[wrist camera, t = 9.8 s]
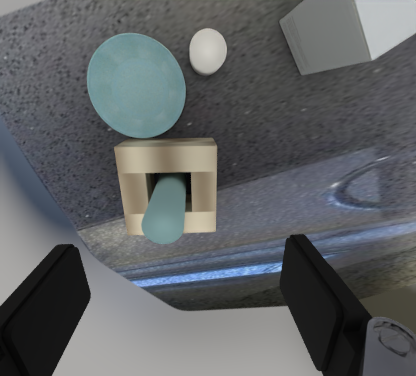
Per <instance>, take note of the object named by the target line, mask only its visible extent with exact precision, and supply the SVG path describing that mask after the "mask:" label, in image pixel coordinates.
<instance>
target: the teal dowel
mask: <svg viewBox="0 0 416 376" xmlns="http://www.w3.org/2000/svg"><path fill="white" fill-rule="evenodd" d="M186 180H187V177H186V173H185V172H169V173H161V174H160V177H159V179H158V182H157V184H156V187H155V189H154V192H153V194H152V197H151V199H150V202H149V204H148V207H147V209H146V212H145V214H144V217H143V219H142V223H141V227H142V231H143V233H144V235H145V236H146V237H147V238H148V239H149V240H151V241H152V242H155V243H158V244H168V243H172V242H174V241H176V240H177V239H179V238H180V236H181V235H182V233H183V231H184V220H185V200H186Z"/></svg>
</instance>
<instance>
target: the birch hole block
mask: <svg viewBox="0 0 416 376" xmlns="http://www.w3.org/2000/svg"><path fill="white" fill-rule="evenodd" d="M114 150H115V156H116V163H117V169H118V176H119V182H120V188H121V195H122V201H123V208H124V214H125V221H126V227H127V233H128V235H144V233H143V231H142V227H141V223H142V219H143V217H144V214H145V212H146V209H147V207H148V204H149V202H150V199H151V197H152V194H153V192H154V189H155V180H154V173H169V172H191V189H192V194H186V200H185V220H184V231H183V233H198V232H216V184H217V145H216V143H215V141H214V140H213V138H145V139H126V140H125V141H123V142H122V143H120V144H118V145H117V146H115V147H114Z"/></svg>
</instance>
